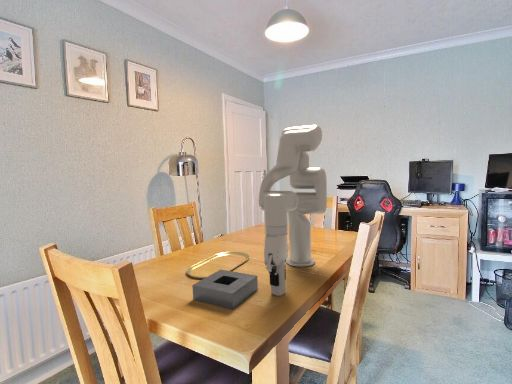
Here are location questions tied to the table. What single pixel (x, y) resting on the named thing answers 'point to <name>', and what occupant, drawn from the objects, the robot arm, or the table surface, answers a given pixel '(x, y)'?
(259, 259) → the table surface
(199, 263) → the gold oval ring
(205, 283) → the socket block
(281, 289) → the beverage can
